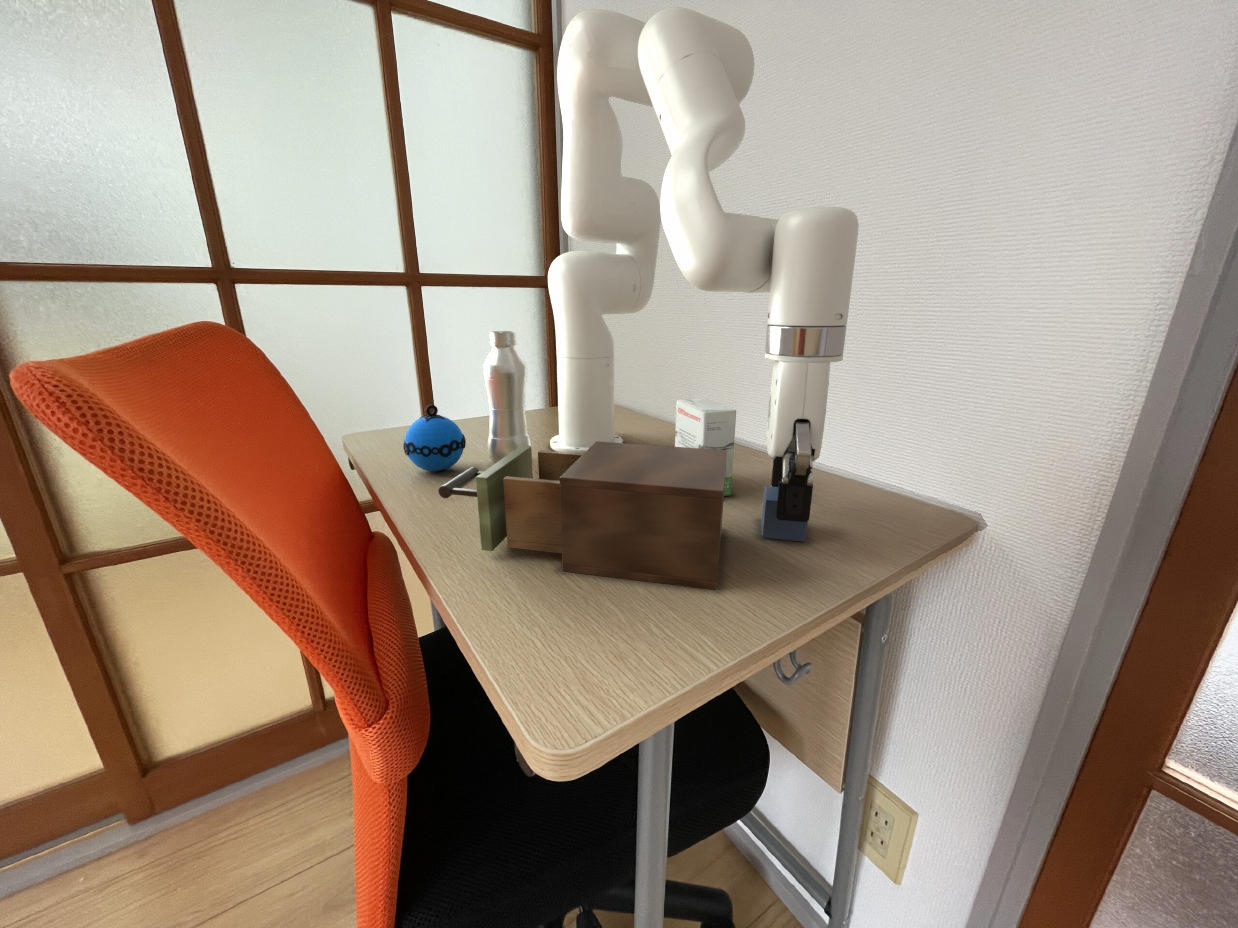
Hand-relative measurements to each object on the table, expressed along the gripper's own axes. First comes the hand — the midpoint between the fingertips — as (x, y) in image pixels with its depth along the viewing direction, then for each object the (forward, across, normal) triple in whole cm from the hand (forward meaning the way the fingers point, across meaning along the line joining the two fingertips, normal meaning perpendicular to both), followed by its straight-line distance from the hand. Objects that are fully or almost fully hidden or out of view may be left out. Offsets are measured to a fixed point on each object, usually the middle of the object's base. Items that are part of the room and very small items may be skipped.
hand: (788, 502), depth 58 cm
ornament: (+3, -10, -49) cm, 50 cm away
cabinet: (+4, +8, -14) cm, 17 cm away
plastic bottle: (+3, -16, -40) cm, 44 cm away
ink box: (+4, -12, -10) cm, 16 cm away
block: (+4, 0, 0) cm, 4 cm away
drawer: (+3, +8, -26) cm, 28 cm away
